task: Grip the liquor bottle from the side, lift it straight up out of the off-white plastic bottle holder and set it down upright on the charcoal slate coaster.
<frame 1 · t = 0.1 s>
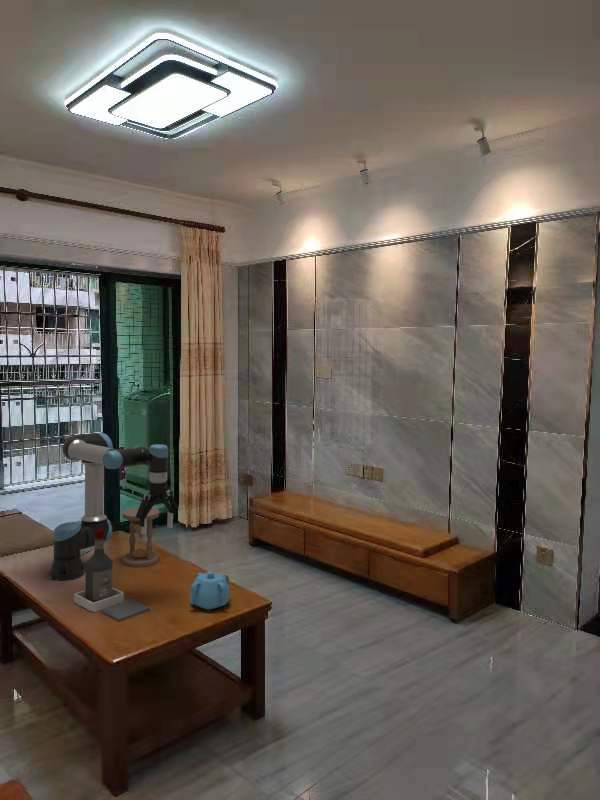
hand: (157, 530, 246), 28 cm above the table, tool pointing down, fingers open, 13 cm apart
slate coaster: (125, 610, 231), on the table
decorative pot: (209, 604, 240), on the table
liquor: (99, 602, 239), resting in bottle holder
bottle holder: (99, 601, 239), on the table
tea box: (78, 552, 299), on the table
hourglass: (140, 561, 289), on the table
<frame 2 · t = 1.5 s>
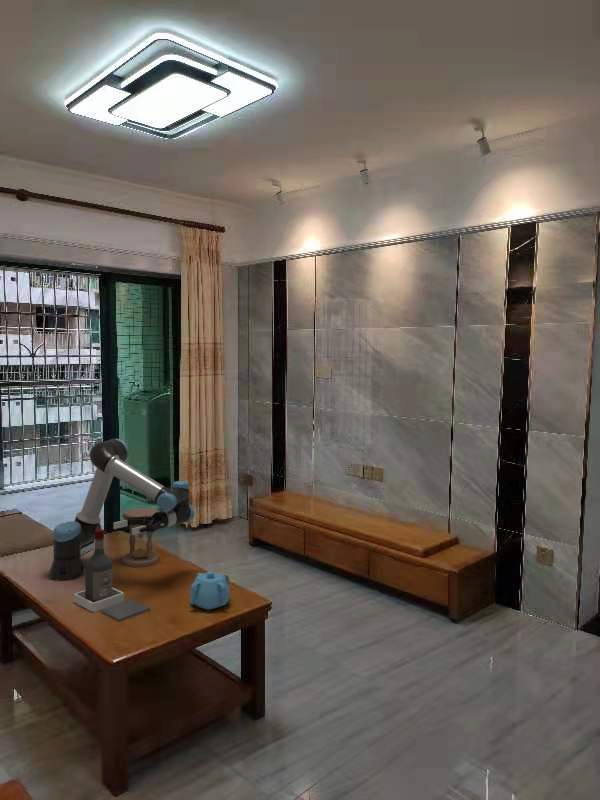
hand: (122, 528, 246), 28 cm above the table, tool horizontal, fingers open, 13 cm apart
nothing on the table moved.
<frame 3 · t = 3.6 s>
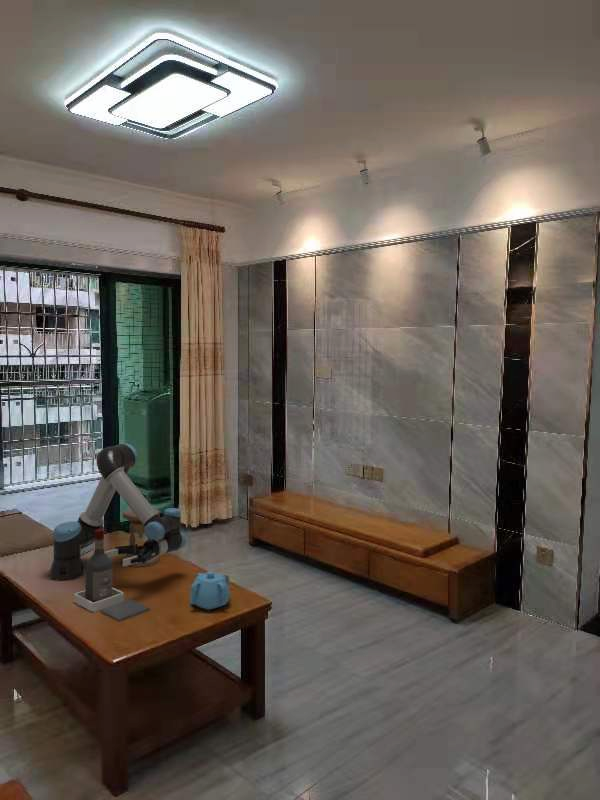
hand: (113, 559, 243), 16 cm above the table, tool horizontal, fingers open, 13 cm apart
nothing on the table moved.
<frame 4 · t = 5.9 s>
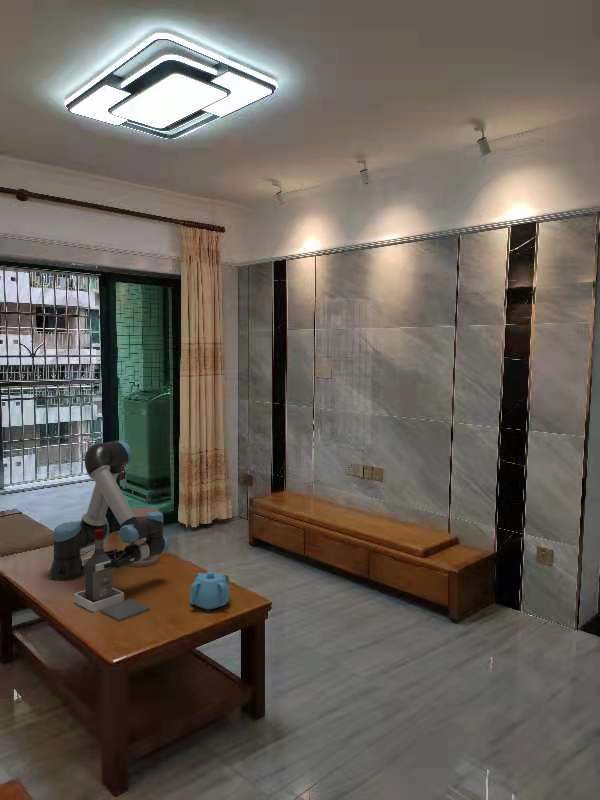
hand: (89, 565, 235), 17 cm above the table, tool horizontal, fingers closed on liquor, 9 cm apart
liquor: (99, 602, 239), resting in bottle holder, touching gripper
everything else where it was.
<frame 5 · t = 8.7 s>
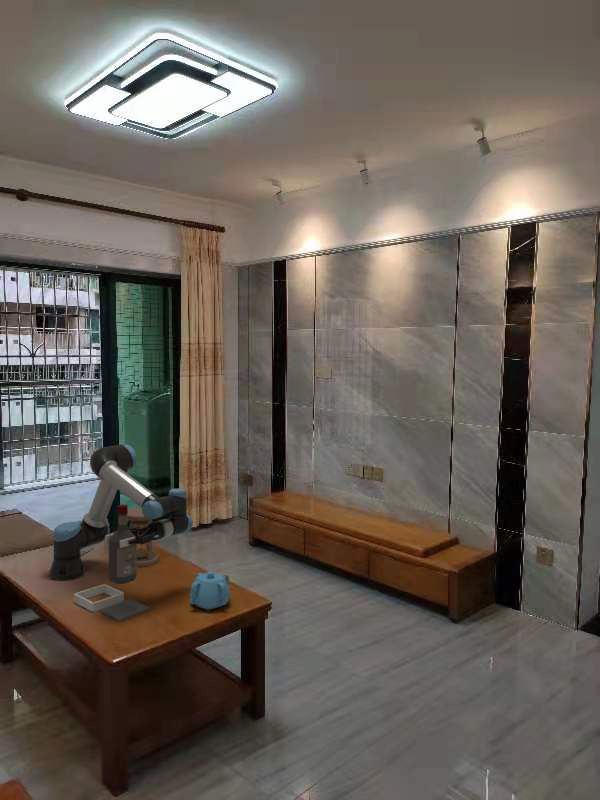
hand: (112, 541, 227), 29 cm above the table, tool horizontal, fingers closed on liquor, 9 cm apart
liquor: (122, 580, 231), point 12 cm above the table, touching gripper
everything else where it was.
when the fingers open (18 cm above the table, at t = 11.6 s): liquor stays where it is, resting on slate coaster.
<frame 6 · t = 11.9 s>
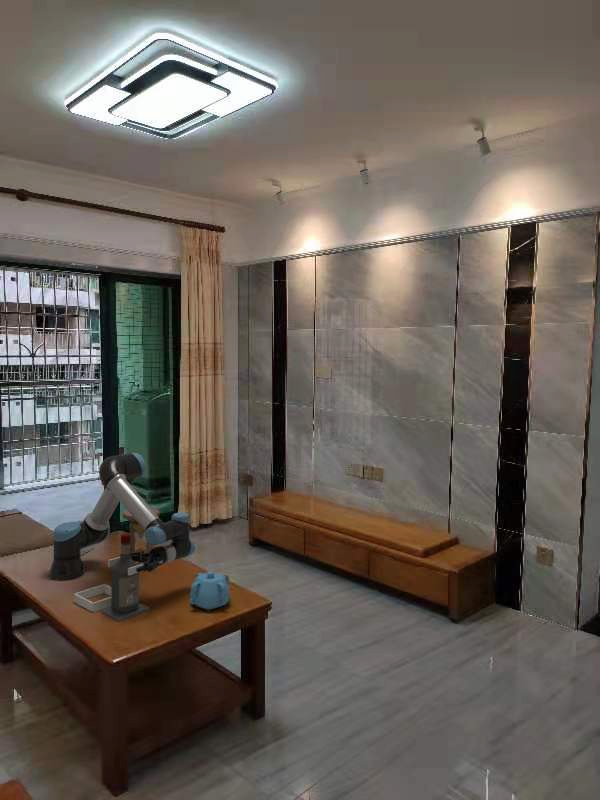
hand: (118, 567, 227), 18 cm above the table, tool horizontal, fingers open, 13 cm apart
liquor: (125, 608, 231), point 1 cm above the table, touching slate coaster
everything else where it was.
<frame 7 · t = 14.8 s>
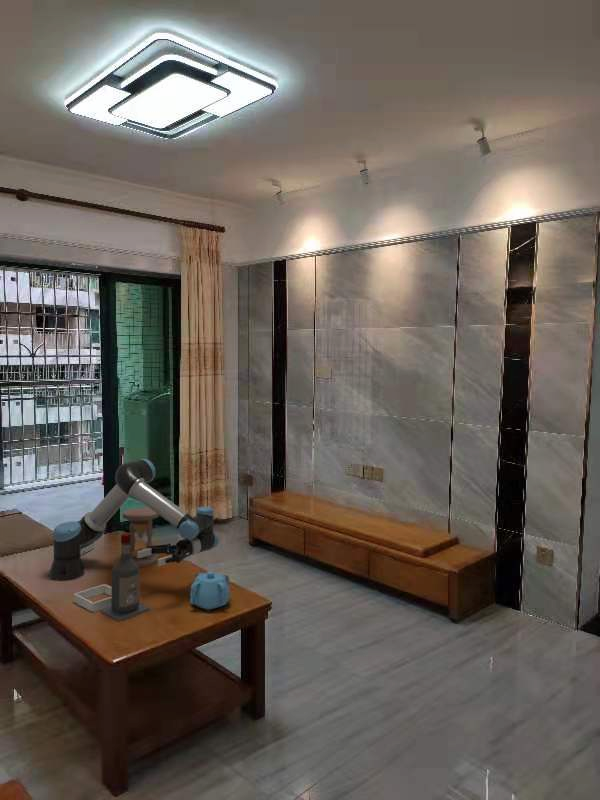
hand: (147, 558, 238), 19 cm above the table, tool horizontal, fingers open, 13 cm apart
nothing on the table moved.
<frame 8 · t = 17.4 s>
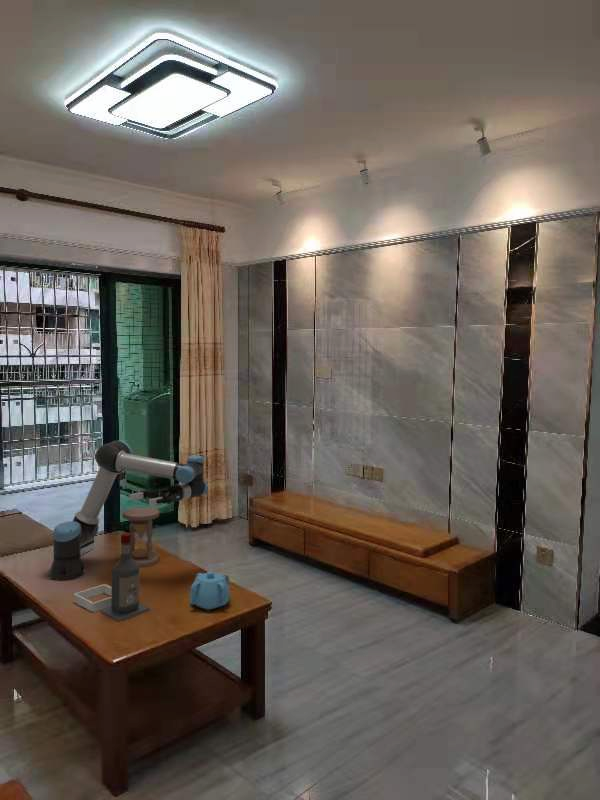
hand: (139, 500, 249), 40 cm above the table, tool horizontal, fingers open, 13 cm apart
nothing on the table moved.
at the end: liquor inside the target area on the slate coaster (0.0 cm from its centre), point 0.8 cm above the slate coaster's base; liquor tilted 0°; the gripper is holding nothing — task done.
